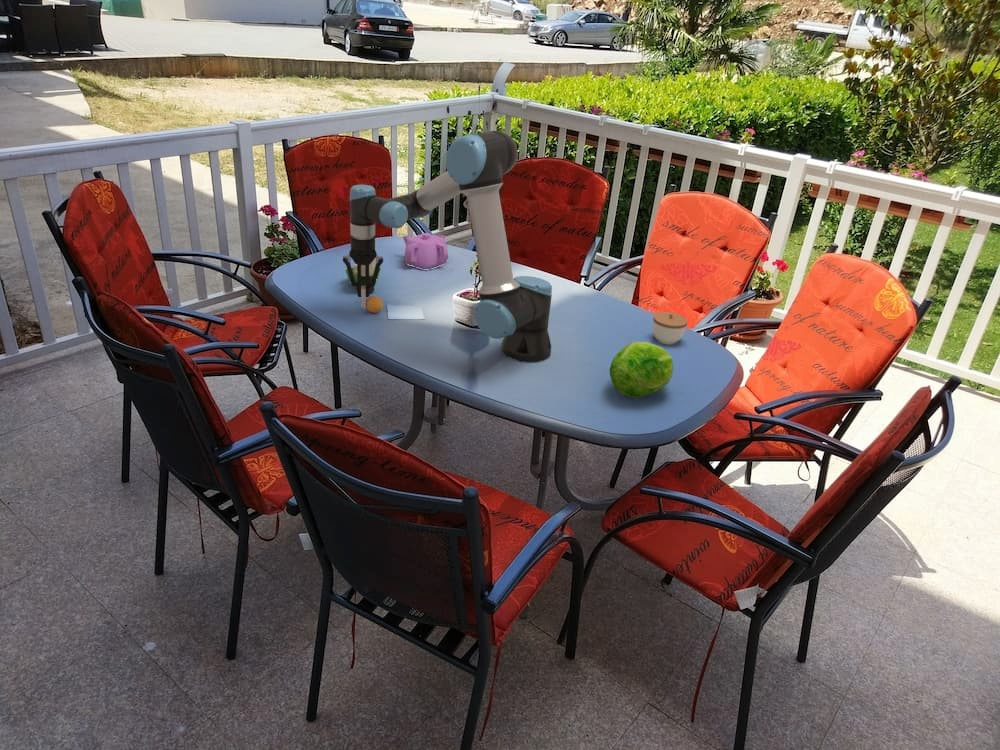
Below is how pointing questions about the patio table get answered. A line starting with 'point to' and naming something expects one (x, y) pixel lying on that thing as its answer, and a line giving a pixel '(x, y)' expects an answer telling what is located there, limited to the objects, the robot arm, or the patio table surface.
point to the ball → (374, 304)
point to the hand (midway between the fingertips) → (363, 305)
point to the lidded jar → (668, 327)
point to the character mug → (371, 271)
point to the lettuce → (641, 369)
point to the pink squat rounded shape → (425, 250)
